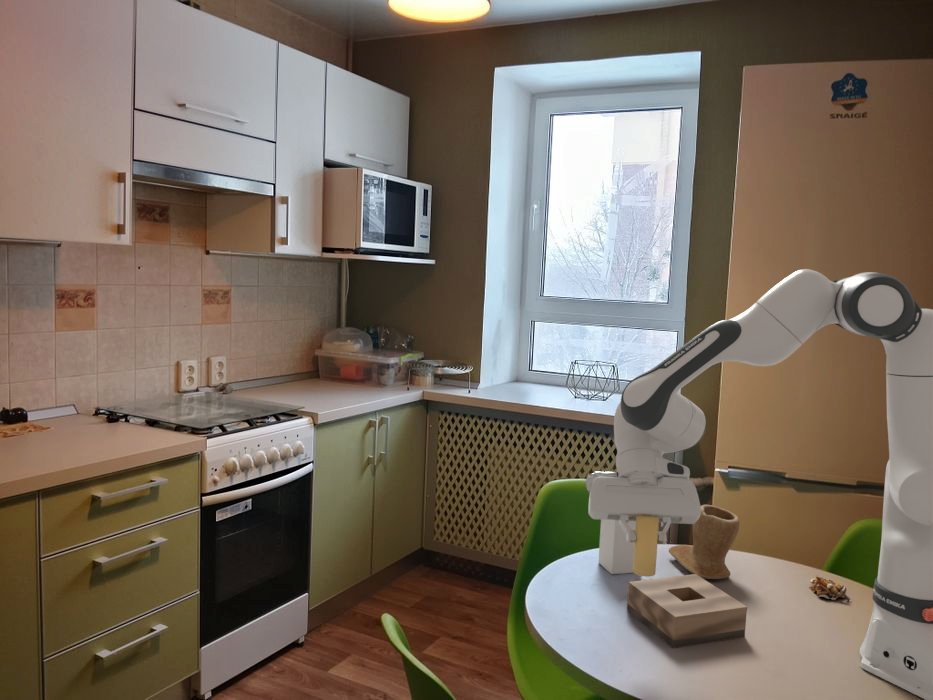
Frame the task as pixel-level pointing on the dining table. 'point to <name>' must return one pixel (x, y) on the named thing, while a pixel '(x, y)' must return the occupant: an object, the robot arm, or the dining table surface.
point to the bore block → (686, 610)
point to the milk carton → (616, 547)
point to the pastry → (828, 588)
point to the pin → (645, 545)
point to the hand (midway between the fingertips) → (646, 541)
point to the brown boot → (709, 543)
